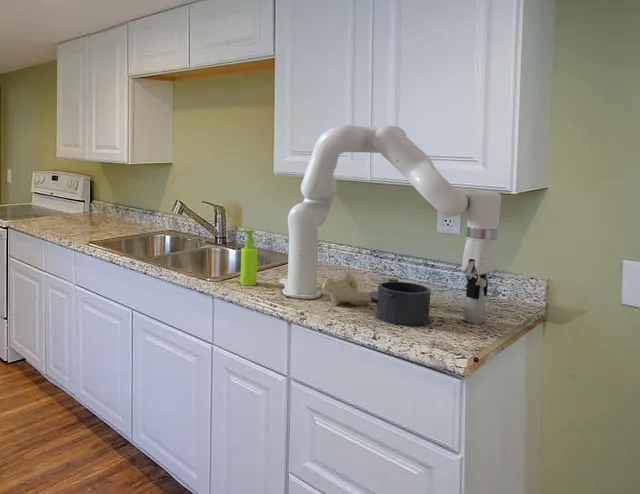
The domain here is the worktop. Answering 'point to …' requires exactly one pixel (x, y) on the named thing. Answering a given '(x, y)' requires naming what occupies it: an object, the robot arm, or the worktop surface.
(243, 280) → the soap dispenser
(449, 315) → the worktop surface
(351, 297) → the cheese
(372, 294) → the lid
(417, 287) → the pot
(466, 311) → the salt shaker
